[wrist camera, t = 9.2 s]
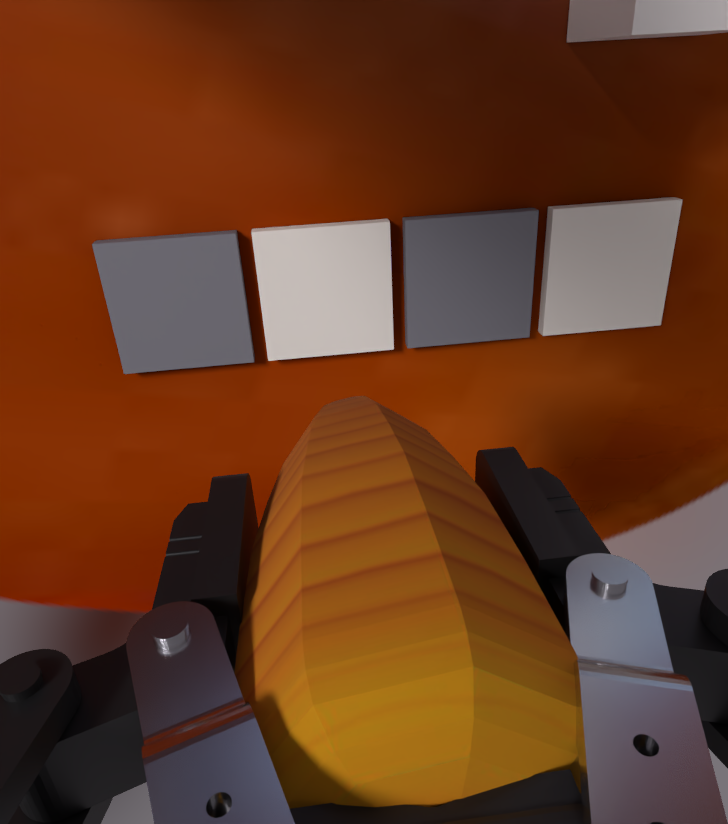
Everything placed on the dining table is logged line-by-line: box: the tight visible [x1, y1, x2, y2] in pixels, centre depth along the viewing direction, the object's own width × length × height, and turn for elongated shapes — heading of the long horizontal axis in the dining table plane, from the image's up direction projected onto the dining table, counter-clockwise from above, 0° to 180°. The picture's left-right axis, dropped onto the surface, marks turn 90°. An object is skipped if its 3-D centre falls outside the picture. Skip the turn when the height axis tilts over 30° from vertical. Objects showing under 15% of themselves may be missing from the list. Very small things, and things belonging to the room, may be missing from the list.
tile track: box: [92, 197, 683, 374], centre depth 27 cm, size 5×23×1 cm, turn 93°
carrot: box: [234, 396, 581, 809], centre depth 11 cm, size 5×5×15 cm
